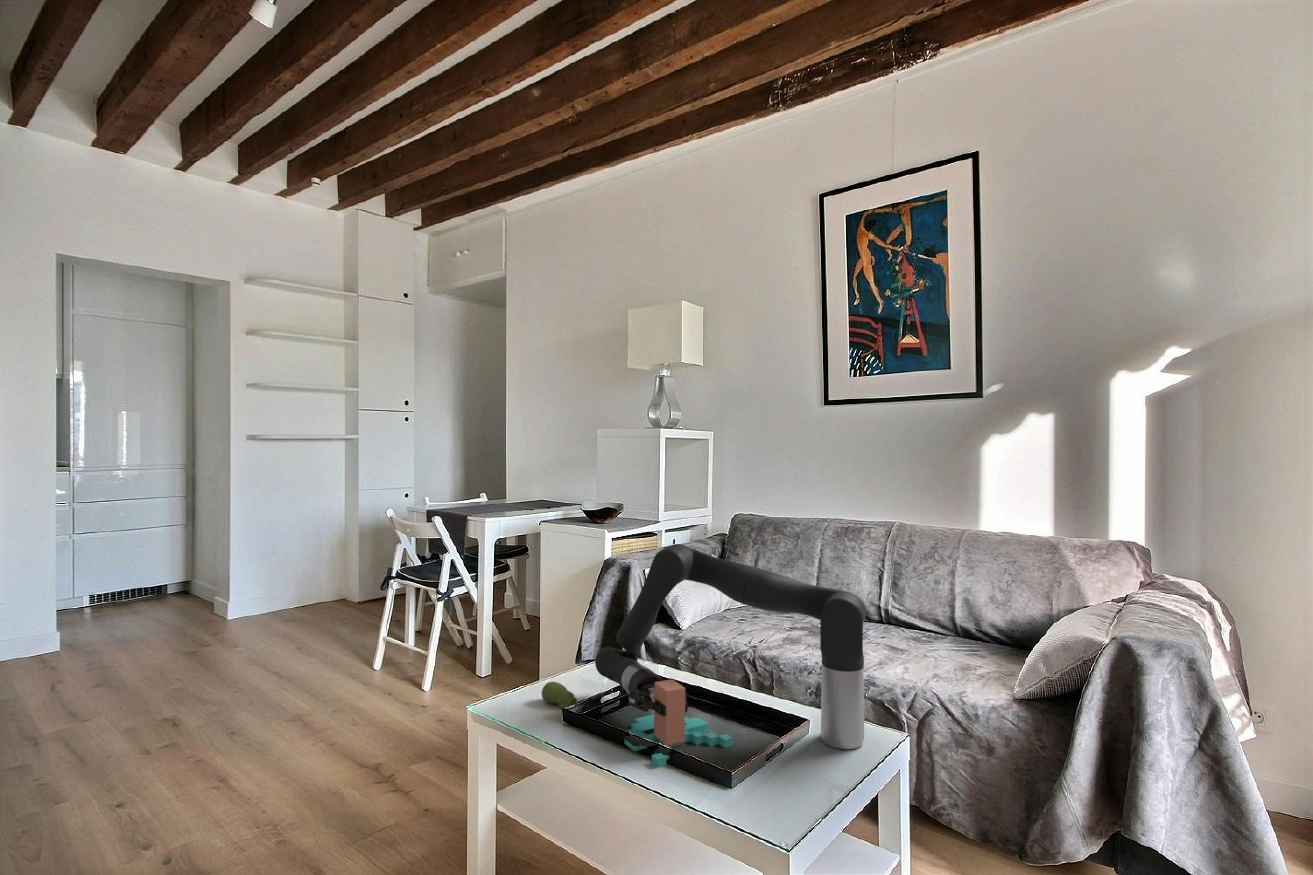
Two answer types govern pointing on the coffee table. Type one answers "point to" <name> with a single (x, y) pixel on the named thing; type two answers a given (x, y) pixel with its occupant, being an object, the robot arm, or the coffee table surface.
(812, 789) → the coffee table surface
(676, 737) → the block
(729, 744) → the alien figure
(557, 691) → the pear
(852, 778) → the coffee table surface
